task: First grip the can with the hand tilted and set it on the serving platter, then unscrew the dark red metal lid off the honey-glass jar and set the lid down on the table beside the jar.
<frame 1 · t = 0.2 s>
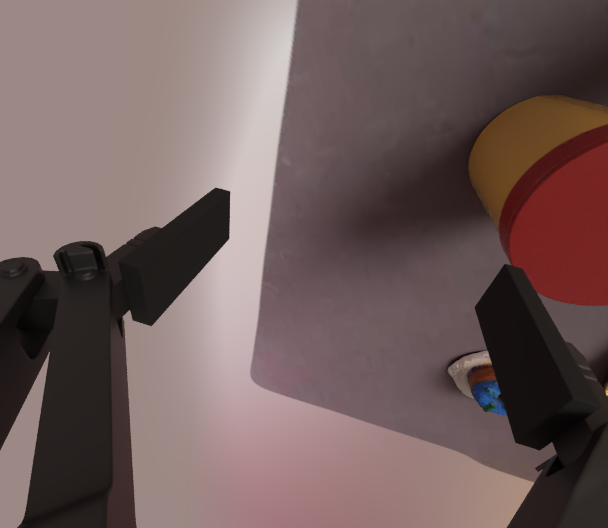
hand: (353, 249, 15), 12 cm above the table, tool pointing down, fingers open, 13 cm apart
dessert: (488, 372, 33), on the table
jar: (529, 157, 21), on the table
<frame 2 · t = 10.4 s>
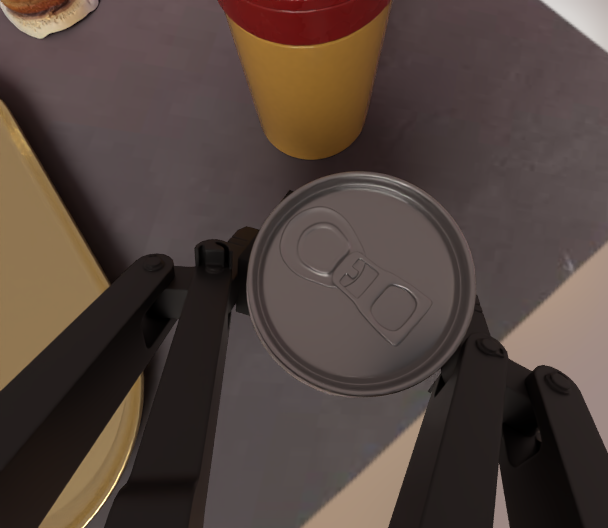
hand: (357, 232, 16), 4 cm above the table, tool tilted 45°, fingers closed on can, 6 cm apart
dessert: (57, 0, 25), on the table
can: (336, 300, 20), on the table, touching gripper
jar: (312, 110, 22), on the table
when the fingers open (5 cm above the table, at t = 21.2 s): can stays where it is, resting on serving platter.
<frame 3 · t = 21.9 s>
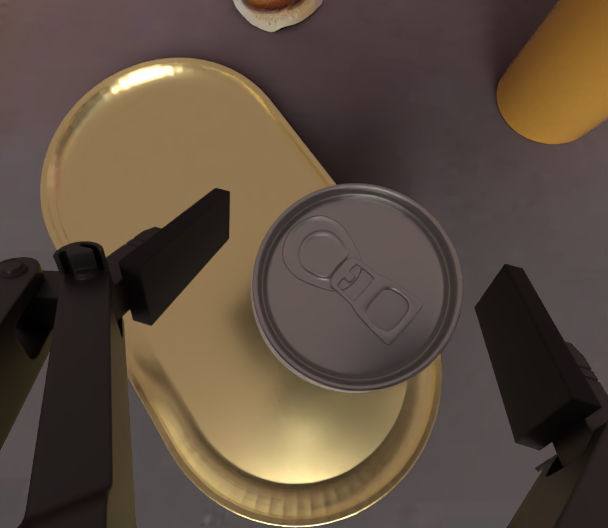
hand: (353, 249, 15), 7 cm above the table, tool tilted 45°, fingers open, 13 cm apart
serving platter: (231, 264, 23), on the table, touching can
can: (335, 301, 20), point 1 cm above the table, touching serving platter
jar: (548, 98, 23), on the table
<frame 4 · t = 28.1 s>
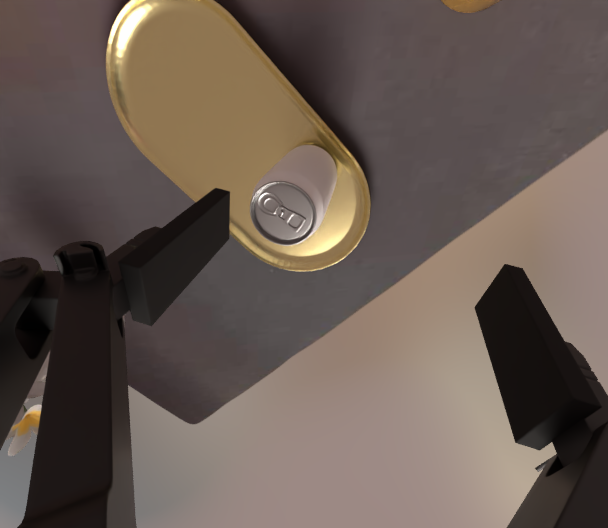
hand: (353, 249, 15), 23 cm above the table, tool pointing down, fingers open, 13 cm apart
serving platter: (247, 153, 37), on the table, touching can
flower vase: (116, 304, 57), on the table
can: (309, 173, 35), point 1 cm above the table, touching serving platter
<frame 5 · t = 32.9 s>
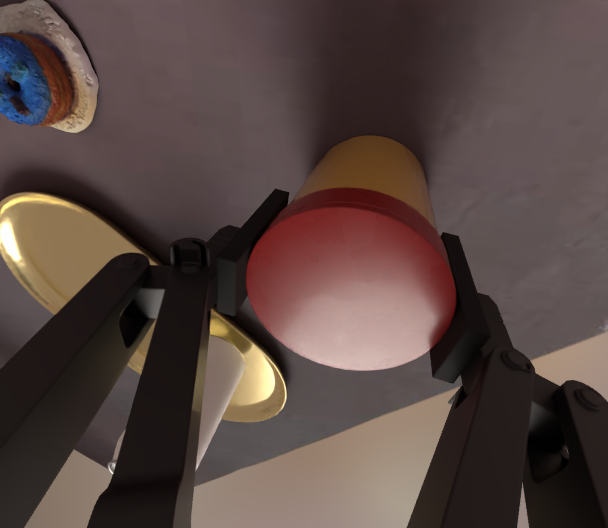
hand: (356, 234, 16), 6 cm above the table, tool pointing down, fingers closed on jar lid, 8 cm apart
dessert: (52, 72, 21), on the table
jar lid: (343, 296, 12), point 11 cm above the table, screwed on, not yet turned, touching gripper
serving platter: (158, 319, 34), on the table, touching can
can: (218, 352, 32), point 1 cm above the table, touching serving platter
jar: (365, 195, 21), on the table
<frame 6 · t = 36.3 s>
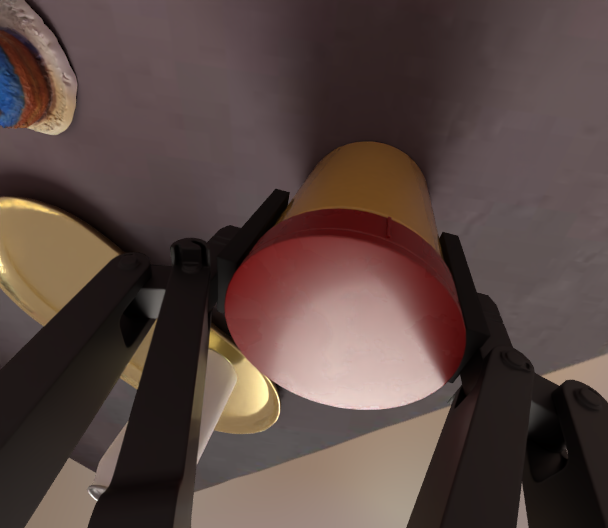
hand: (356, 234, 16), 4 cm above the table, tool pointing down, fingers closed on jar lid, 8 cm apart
dessert: (28, 70, 20), on the table
jar lid: (336, 331, 11), point 11 cm above the table, turned 83° so far, risen 0.2 cm, still on its thread, touching gripper
serving platter: (147, 328, 33), on the table, touching can
can: (209, 363, 31), point 1 cm above the table, touching serving platter
jar: (363, 204, 19), on the table
when the fingers open (0 cm above the table, at t = 44.1 s): jar lid drops 6 cm, point 1 cm above the table.
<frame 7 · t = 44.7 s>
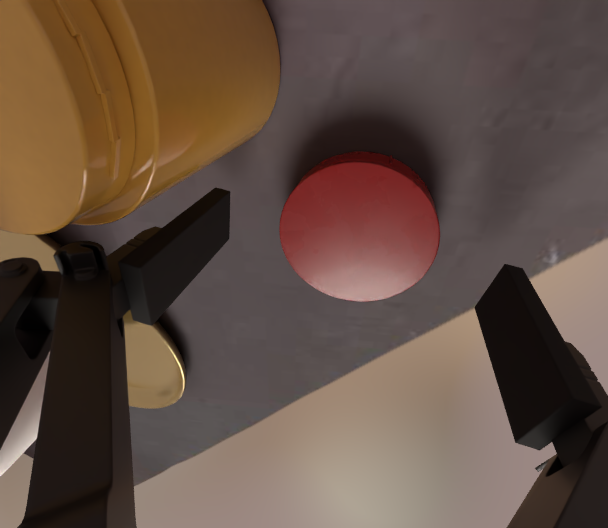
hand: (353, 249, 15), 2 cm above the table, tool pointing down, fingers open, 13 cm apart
jar lid: (355, 237, 16), point 1 cm above the table, off its thread
serving platter: (29, 280, 28), on the table, touching can
can: (93, 318, 26), point 1 cm above the table, touching serving platter
jar: (202, 63, 14), on the table
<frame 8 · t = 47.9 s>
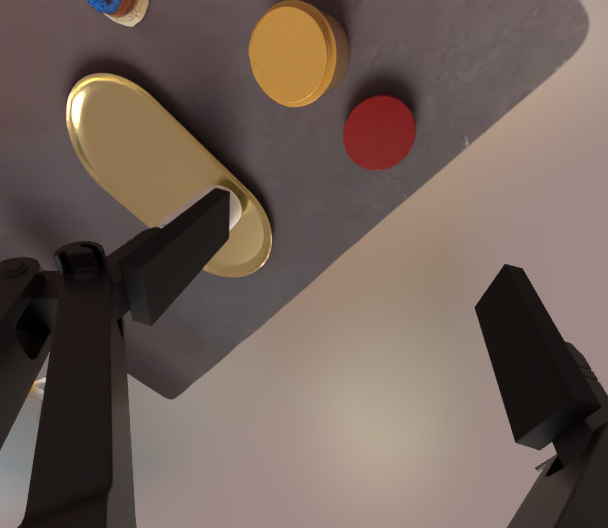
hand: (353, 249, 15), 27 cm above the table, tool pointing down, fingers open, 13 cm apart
jar lid: (378, 134, 35), point 1 cm above the table, off its thread
serving platter: (179, 186, 47), on the table, touching can
flower vase: (98, 298, 69), on the table
can: (223, 204, 45), point 1 cm above the table, touching serving platter
jar: (314, 56, 34), on the table
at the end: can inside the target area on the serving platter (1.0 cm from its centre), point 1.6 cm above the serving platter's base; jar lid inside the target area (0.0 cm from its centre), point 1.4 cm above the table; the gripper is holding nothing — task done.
